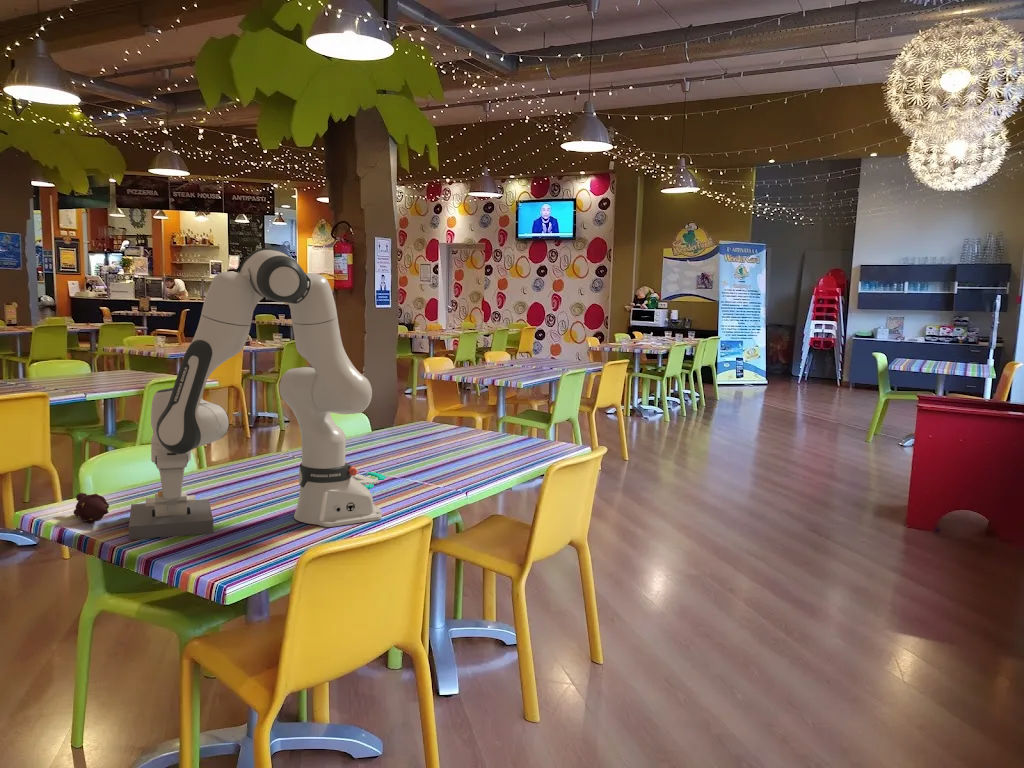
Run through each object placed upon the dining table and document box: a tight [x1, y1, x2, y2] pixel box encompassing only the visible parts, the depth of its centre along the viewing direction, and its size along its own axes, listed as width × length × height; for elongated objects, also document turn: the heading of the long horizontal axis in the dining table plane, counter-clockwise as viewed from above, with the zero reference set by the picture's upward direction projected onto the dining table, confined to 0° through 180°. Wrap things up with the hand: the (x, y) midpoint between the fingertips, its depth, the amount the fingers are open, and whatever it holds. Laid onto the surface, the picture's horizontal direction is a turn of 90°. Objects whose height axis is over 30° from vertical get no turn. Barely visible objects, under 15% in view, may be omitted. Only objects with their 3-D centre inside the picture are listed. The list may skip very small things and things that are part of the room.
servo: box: [145, 490, 197, 517], centre depth 181 cm, size 11×4×6 cm, turn 115°
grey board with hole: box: [128, 498, 214, 541], centre depth 182 cm, size 18×18×3 cm
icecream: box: [73, 492, 110, 523], centre depth 181 cm, size 7×7×15 cm
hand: (171, 508), depth 182 cm, fingers closed on servo, 4 cm apart
